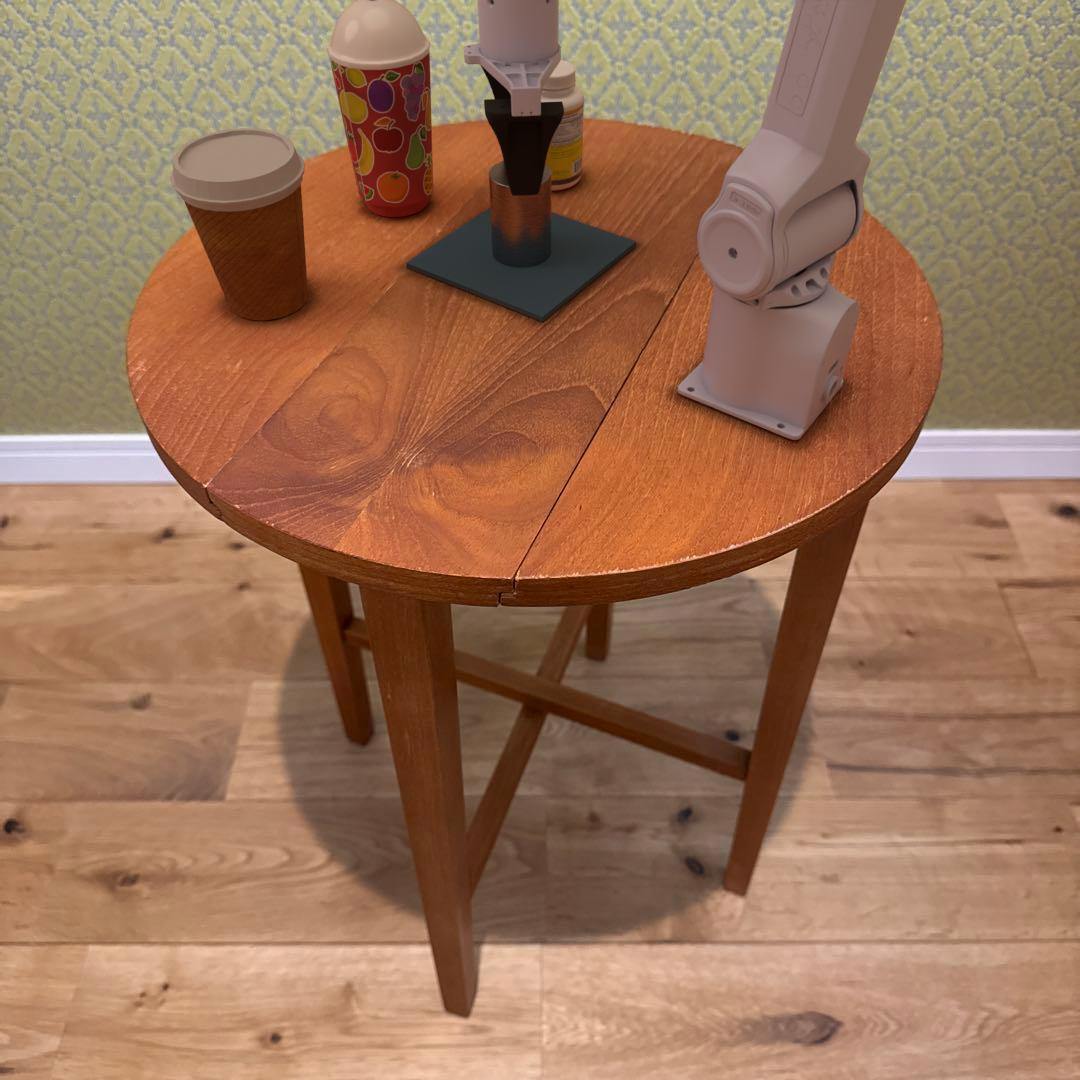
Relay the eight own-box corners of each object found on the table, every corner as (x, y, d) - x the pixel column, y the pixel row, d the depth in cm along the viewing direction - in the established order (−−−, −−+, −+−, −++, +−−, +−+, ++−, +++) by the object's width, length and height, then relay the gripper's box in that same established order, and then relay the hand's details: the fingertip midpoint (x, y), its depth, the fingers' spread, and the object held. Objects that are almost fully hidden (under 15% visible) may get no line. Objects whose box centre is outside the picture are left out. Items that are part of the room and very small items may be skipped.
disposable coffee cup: (184, 301, 78) (139, 155, 69) (281, 255, 83) (250, 114, 74) (255, 348, 74) (216, 199, 65) (352, 297, 78) (328, 151, 70)
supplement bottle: (516, 170, 93) (513, 59, 86) (570, 162, 95) (572, 52, 87) (532, 197, 90) (531, 83, 82) (589, 188, 91) (593, 75, 83)
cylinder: (562, 248, 82) (563, 168, 77) (528, 273, 80) (527, 193, 75) (515, 231, 84) (513, 152, 79) (480, 255, 82) (475, 176, 77)
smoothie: (393, 173, 93) (365, -64, 79) (461, 197, 90) (444, -46, 75) (332, 208, 88) (290, -37, 74) (401, 235, 85) (371, -17, 71)
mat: (636, 246, 84) (636, 241, 83) (542, 322, 76) (542, 316, 75) (506, 201, 89) (506, 196, 89) (406, 267, 81) (406, 262, 81)
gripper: (457, -50, 72) (468, 132, 82) (462, 19, 62) (474, 217, 72) (552, -53, 72) (551, 129, 82) (572, 15, 62) (569, 213, 72)
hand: (521, 170), depth 77 cm, fingers open, 7 cm apart
